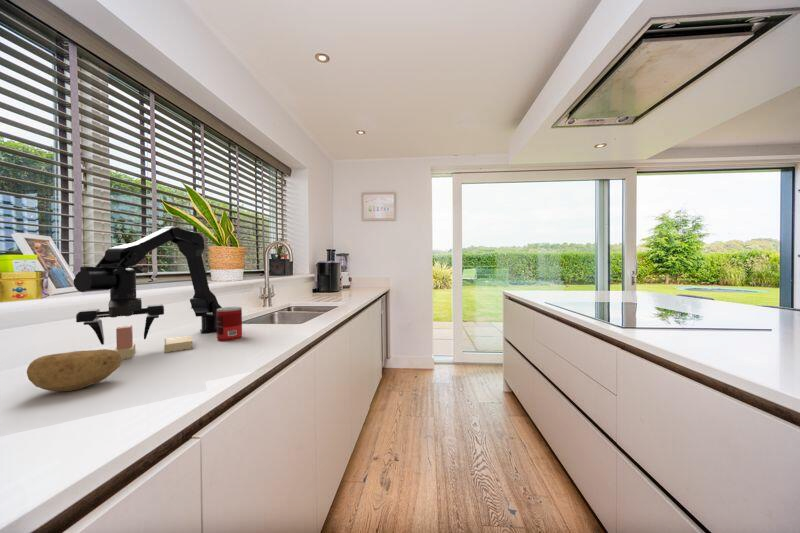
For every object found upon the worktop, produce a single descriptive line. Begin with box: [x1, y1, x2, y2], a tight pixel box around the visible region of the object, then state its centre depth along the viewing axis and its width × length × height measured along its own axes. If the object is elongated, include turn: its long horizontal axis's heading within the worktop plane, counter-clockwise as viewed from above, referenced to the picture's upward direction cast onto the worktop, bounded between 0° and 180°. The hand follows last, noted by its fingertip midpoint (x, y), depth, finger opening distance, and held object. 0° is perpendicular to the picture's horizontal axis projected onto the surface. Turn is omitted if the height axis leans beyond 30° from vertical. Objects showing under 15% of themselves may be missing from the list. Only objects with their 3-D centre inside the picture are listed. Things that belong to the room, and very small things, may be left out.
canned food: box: [216, 306, 243, 342], centre depth 107 cm, size 8×8×11 cm
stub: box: [114, 325, 136, 360], centre depth 89 cm, size 10×4×8 cm, turn 38°
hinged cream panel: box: [163, 335, 194, 353], centre depth 96 cm, size 10×7×3 cm
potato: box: [26, 348, 123, 392], centre depth 64 cm, size 10×14×8 cm
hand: (124, 341), depth 89 cm, fingers open, 9 cm apart
